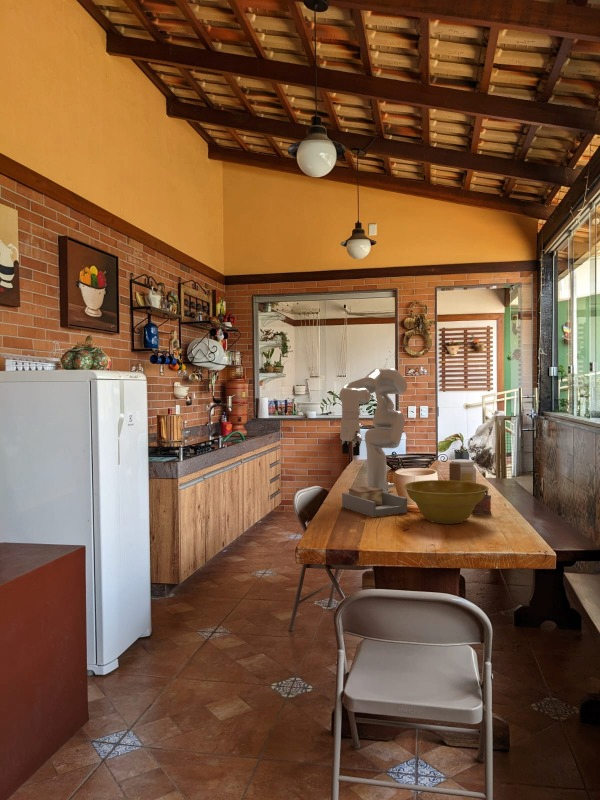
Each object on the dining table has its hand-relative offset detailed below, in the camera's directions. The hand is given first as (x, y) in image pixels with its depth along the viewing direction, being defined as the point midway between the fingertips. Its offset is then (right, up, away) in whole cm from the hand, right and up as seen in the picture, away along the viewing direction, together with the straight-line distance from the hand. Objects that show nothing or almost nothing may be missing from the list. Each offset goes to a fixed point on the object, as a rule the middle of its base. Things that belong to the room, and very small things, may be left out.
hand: (350, 454), depth 257 cm
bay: (+8, -22, -14) cm, 28 cm away
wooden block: (+48, -22, -4) cm, 53 cm away
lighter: (+51, -22, -23) cm, 61 cm away
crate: (+6, -21, -10) cm, 23 cm away
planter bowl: (+34, -23, -35) cm, 53 cm away
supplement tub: (+54, -21, +14) cm, 60 cm away
